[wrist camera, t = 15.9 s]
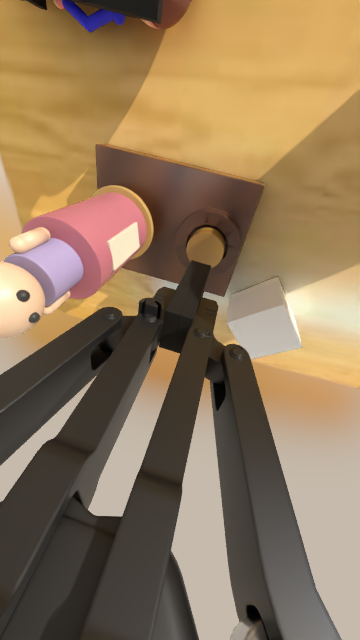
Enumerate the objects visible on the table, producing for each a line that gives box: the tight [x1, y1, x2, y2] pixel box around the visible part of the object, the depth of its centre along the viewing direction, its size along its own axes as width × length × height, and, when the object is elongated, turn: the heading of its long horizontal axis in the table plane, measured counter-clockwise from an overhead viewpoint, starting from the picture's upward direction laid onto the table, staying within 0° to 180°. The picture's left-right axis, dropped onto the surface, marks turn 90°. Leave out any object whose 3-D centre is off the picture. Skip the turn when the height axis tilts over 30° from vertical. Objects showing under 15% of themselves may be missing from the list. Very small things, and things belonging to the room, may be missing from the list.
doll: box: [0, 185, 153, 338], centre depth 17 cm, size 7×7×17 cm
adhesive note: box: [227, 277, 302, 359], centre depth 27 cm, size 6×6×6 cm
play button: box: [186, 227, 225, 268], centre depth 23 cm, size 4×4×2 cm
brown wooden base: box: [96, 144, 264, 297], centre depth 25 cm, size 16×12×4 cm
